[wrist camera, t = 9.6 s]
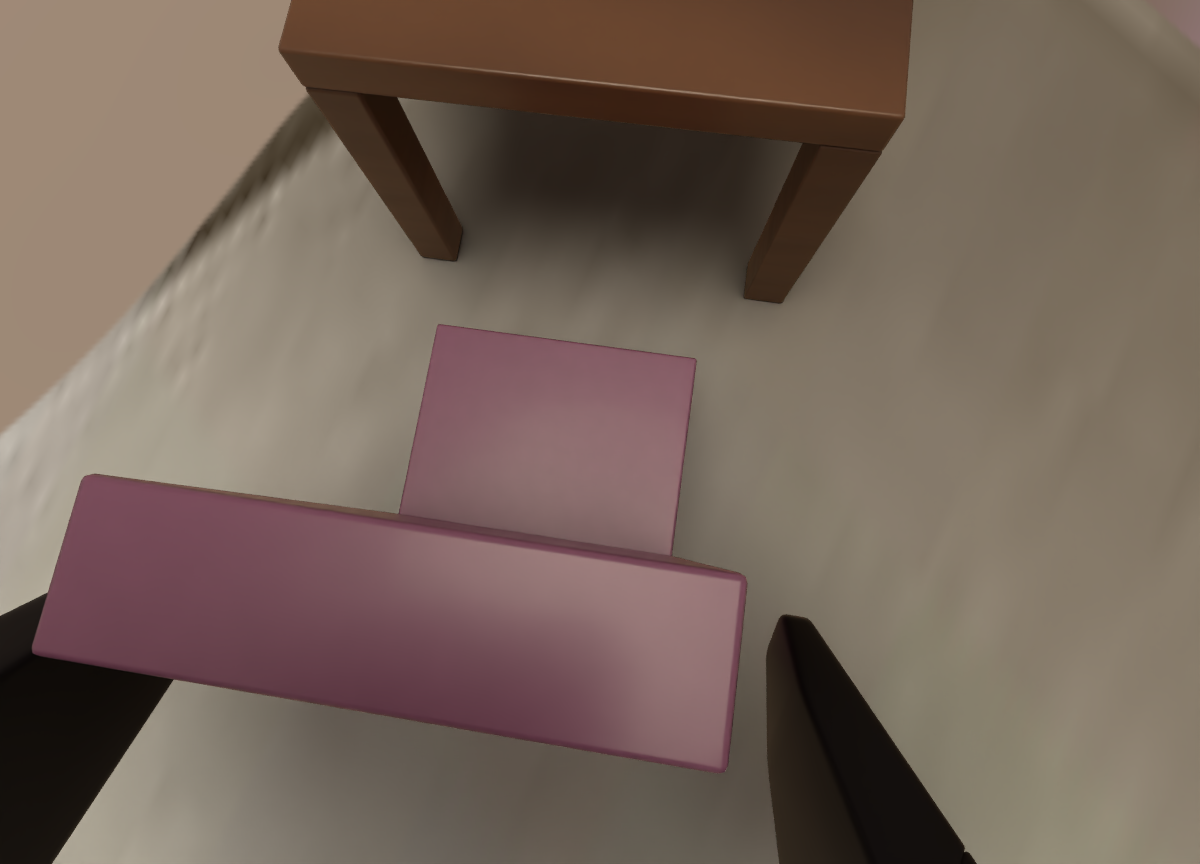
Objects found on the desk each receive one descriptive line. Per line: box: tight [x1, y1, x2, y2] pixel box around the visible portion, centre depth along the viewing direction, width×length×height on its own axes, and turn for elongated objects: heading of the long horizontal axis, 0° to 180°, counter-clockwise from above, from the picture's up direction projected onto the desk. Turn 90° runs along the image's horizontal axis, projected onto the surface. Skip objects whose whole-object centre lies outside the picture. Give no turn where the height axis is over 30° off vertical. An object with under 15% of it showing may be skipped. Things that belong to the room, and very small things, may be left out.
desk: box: [279, 0, 913, 303], centre depth 16 cm, size 8×12×8 cm, turn 81°
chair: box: [32, 324, 747, 774], centre depth 12 cm, size 6×6×13 cm
